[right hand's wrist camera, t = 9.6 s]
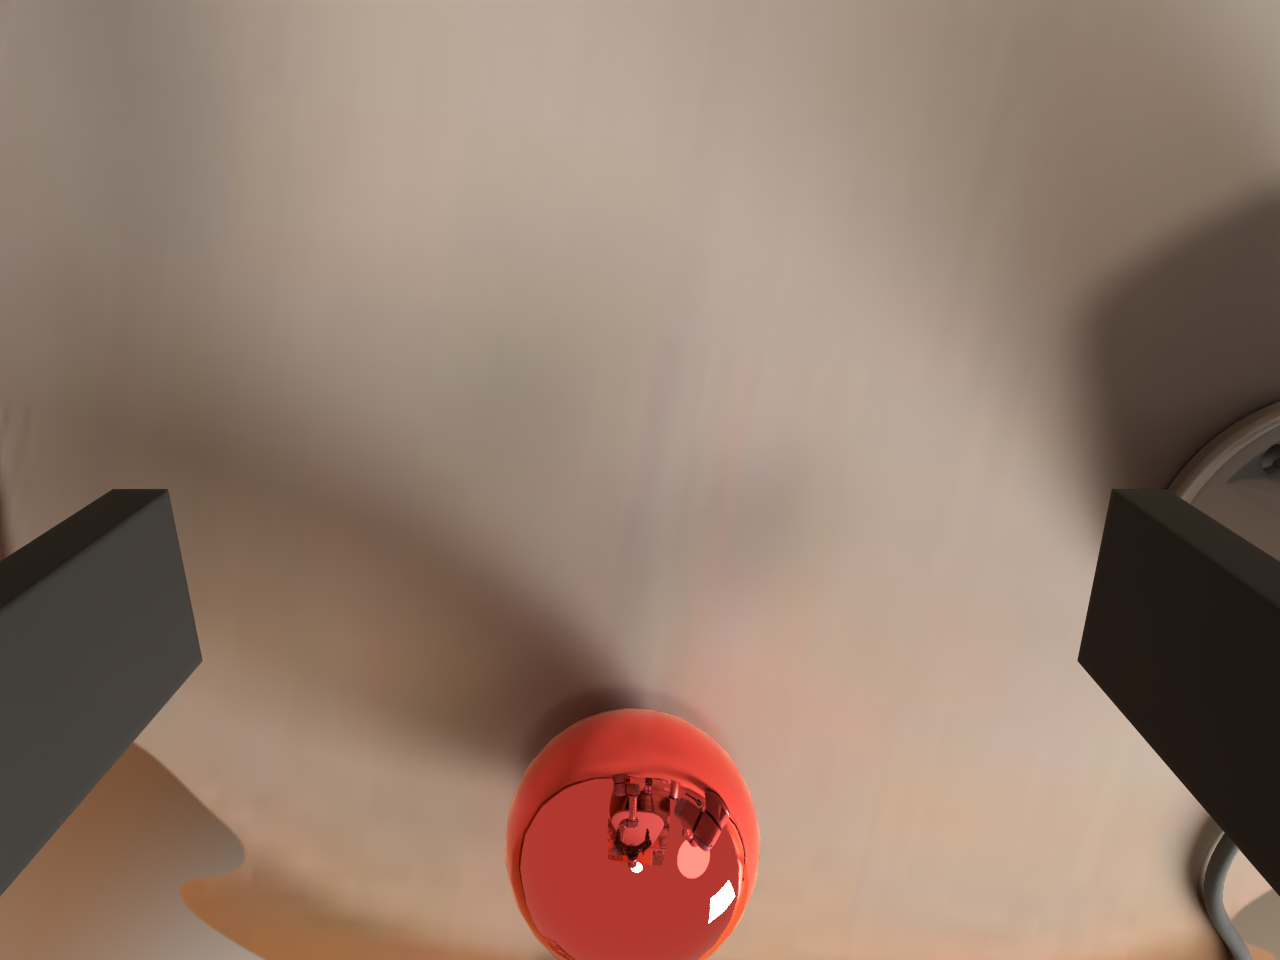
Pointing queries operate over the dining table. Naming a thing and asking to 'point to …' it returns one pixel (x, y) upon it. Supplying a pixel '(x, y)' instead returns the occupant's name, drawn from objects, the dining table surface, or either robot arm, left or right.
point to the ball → (632, 840)
